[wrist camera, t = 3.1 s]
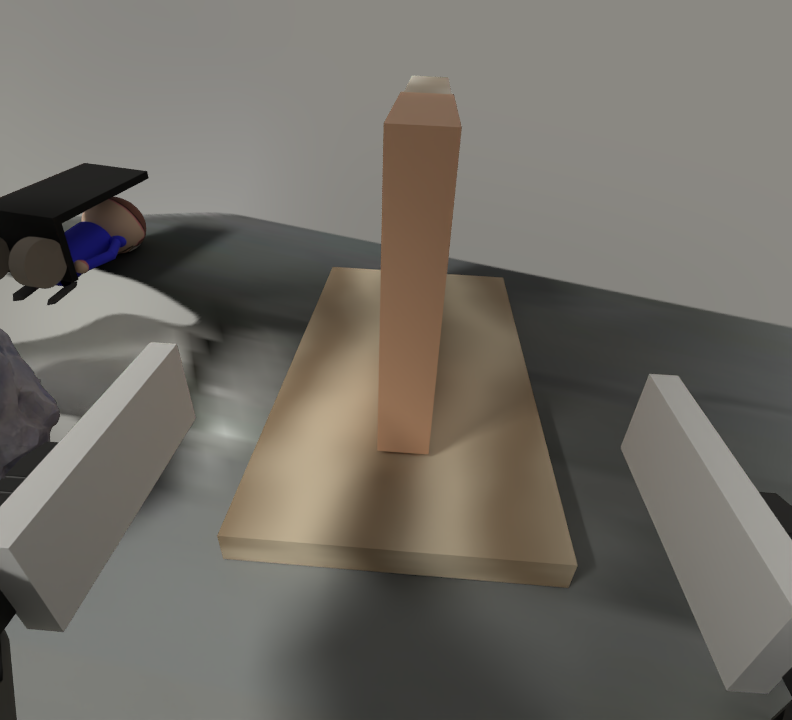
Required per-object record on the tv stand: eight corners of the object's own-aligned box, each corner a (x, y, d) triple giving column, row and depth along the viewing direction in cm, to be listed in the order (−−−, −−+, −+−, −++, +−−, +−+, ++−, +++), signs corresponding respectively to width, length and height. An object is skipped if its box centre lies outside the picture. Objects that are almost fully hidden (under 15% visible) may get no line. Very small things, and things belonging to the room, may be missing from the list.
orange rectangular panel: (377, 450, 23) (383, 123, 15) (391, 350, 30) (400, 91, 22) (428, 454, 23) (461, 127, 15) (430, 353, 30) (453, 94, 22)
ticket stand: (223, 558, 20) (115, 160, 12) (333, 283, 42) (325, 71, 33) (568, 587, 20) (730, 194, 11) (500, 294, 41) (536, 81, 32)
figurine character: (66, 337, 36) (171, 241, 48) (15, 241, 31) (146, 160, 43) (-16, 326, 37) (107, 234, 48) (-78, 231, 32) (75, 154, 43)
